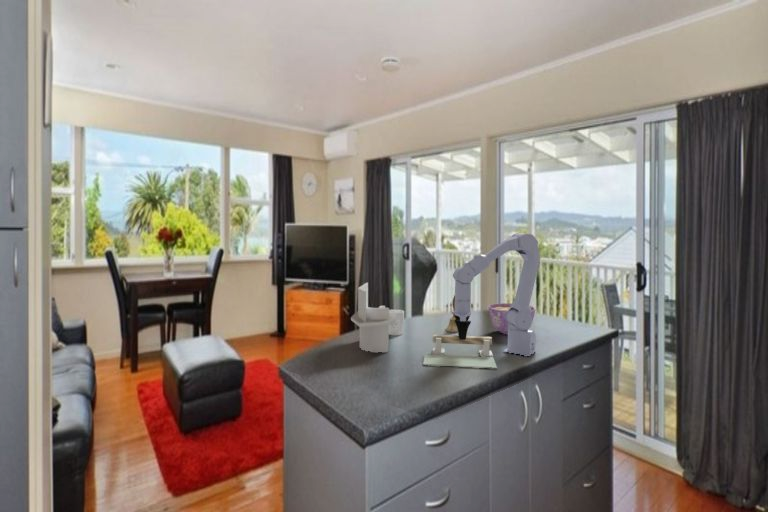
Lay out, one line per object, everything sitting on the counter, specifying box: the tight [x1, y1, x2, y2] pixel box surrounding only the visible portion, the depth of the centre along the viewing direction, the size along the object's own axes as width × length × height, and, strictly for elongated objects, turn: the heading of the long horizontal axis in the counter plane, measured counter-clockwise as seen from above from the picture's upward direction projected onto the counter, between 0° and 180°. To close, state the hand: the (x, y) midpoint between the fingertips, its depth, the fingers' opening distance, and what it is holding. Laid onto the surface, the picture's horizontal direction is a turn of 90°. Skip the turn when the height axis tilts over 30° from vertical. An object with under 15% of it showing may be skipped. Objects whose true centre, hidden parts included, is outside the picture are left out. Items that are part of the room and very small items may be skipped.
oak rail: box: [432, 334, 493, 346], centre depth 152 cm, size 21×2×2 cm, turn 81°
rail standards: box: [431, 338, 494, 358], centre depth 153 cm, size 21×6×6 cm, turn 81°
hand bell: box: [444, 294, 458, 333], centre depth 188 cm, size 8×8×16 cm
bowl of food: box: [487, 302, 537, 336], centre depth 183 cm, size 20×20×12 cm
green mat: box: [422, 353, 498, 369], centre depth 143 cm, size 24×11×1 cm, turn 81°
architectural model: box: [350, 282, 397, 353], centre depth 162 cm, size 28×21×23 cm
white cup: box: [389, 309, 405, 337], centre depth 182 cm, size 8×8×10 cm
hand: (462, 336), depth 152 cm, fingers open, 7 cm apart
